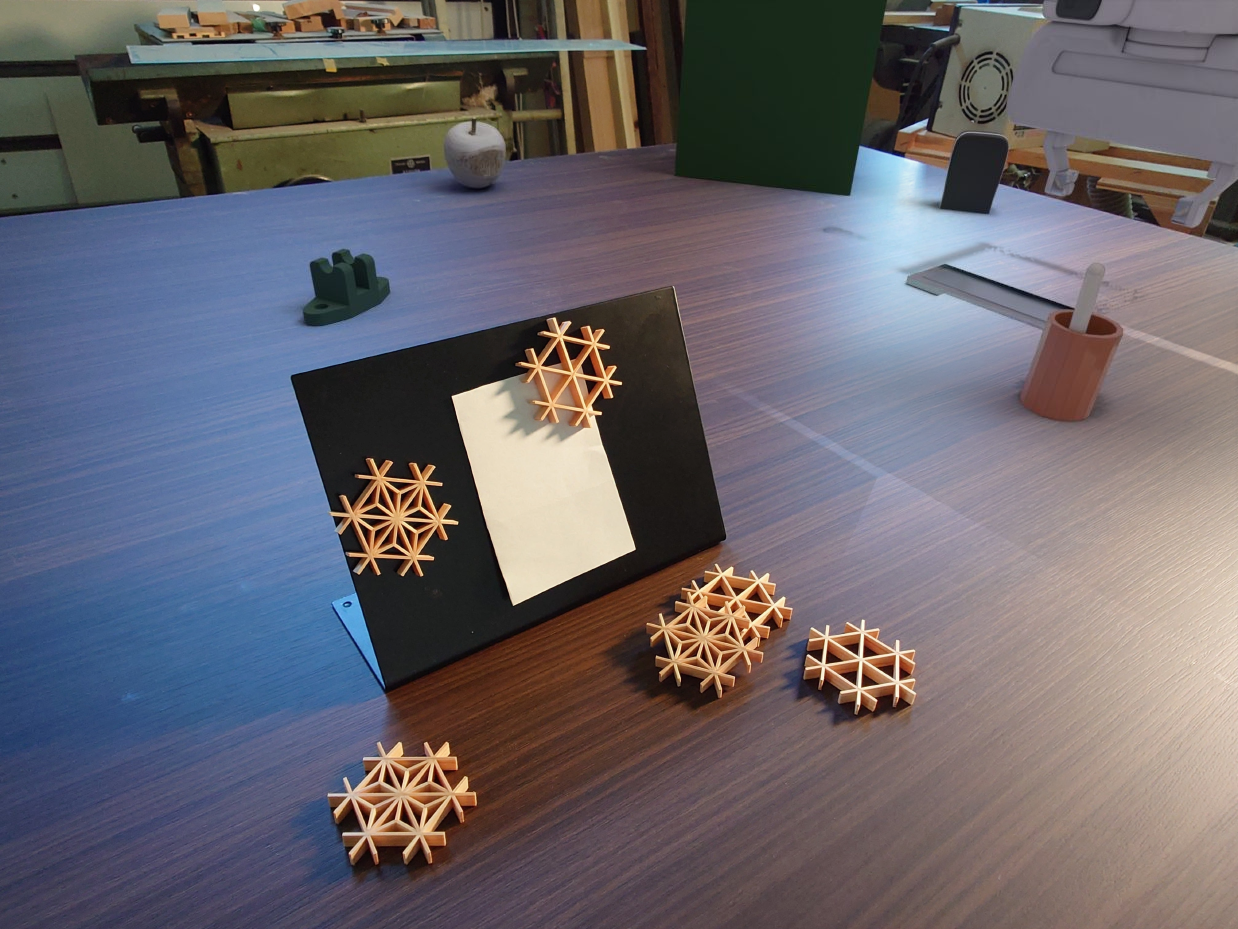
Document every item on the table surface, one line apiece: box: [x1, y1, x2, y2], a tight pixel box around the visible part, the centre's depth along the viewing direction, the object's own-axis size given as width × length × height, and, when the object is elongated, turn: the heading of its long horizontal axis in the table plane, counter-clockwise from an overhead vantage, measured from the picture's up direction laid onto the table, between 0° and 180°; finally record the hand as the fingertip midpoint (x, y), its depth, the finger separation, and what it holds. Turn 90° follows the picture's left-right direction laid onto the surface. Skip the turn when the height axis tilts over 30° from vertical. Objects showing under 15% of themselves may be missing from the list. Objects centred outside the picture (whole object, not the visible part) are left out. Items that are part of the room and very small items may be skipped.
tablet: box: [905, 263, 1075, 331], centre depth 90 cm, size 18×16×1 cm
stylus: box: [1069, 262, 1106, 334], centre depth 63 cm, size 1×1×13 cm
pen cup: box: [1019, 309, 1125, 423], centre depth 66 cm, size 5×5×8 cm
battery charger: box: [938, 129, 1010, 215], centre depth 110 cm, size 7×4×11 cm, turn 73°
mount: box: [302, 248, 391, 327], centre depth 80 cm, size 11×4×5 cm, turn 153°
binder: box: [674, 0, 888, 196], centre depth 121 cm, size 27×15×32 cm, turn 74°
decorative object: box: [443, 116, 507, 189], centre depth 116 cm, size 9×9×10 cm
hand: (1117, 208), depth 61 cm, fingers open, 8 cm apart
